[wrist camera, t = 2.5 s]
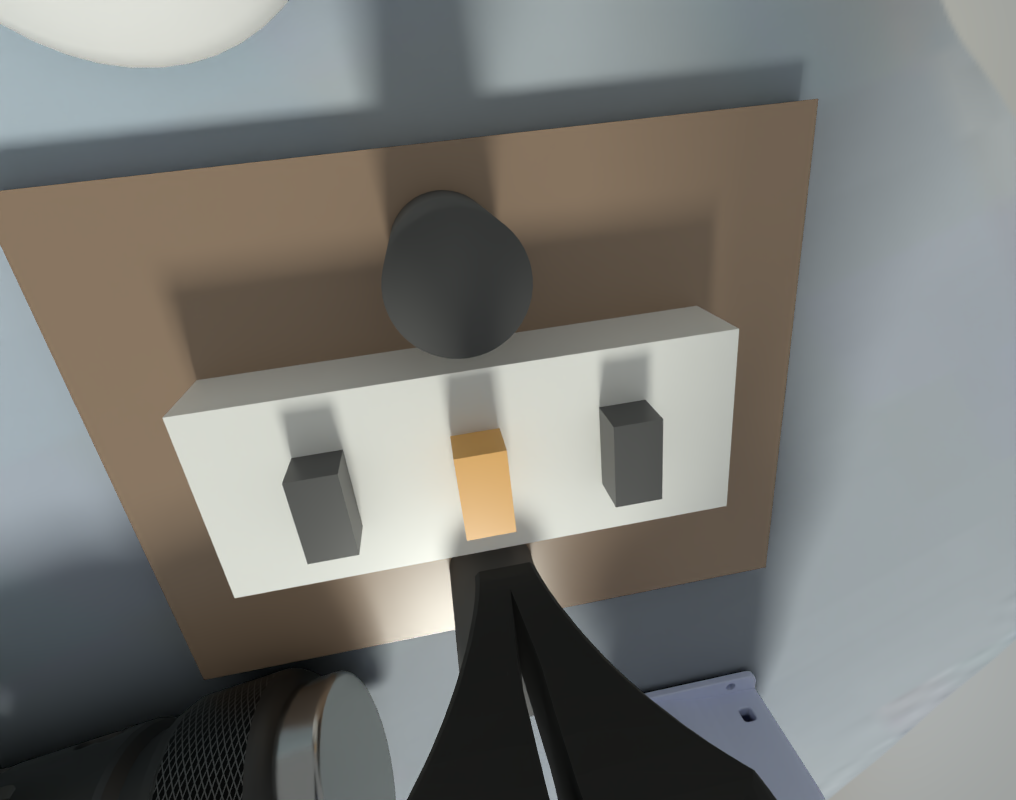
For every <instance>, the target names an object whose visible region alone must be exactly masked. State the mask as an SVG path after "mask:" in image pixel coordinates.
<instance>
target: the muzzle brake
mask: <svg viewBox="0 0 1016 800" xmlns="http://www.w3.org/2000/svg"><path fill="white" fill-rule="evenodd" d="M0 800H396V796H395V786H394V776H393V770H392V763H391V757H390V753H389V748H388V743H387V739H386V735H385V732H384V728H383V725H382V721H381V719H380V716H379V713H378V710H377V708H376V706H375V703H374V701H373V699H372V697H371V695H370V693H369V691H368V690H367V688H366V687H365V685H364V683H363V682H362V681H361V680H360V679H359V678H358V677H357V676H356V675H354V674H353V673H351V672H349V671H340V670H339V671H336V672H333V673H330V674H327V675H324V676H320V675H319V674H317V673H315V672H312V671H309V670H306V669H300V668H288V669H285V670H282V671H279V672H276V673H273V674H270V675H267V676H264V677H261V678H258V679H255V680H251V681H248V682H245V683H242V684H239V685H236V686H233V687H230V688H227V689H224V690H221V691H218V692H215V693H212V694H210V695H207V696H205V697H203V698H201V699H200V700H199V701H197V702H196V703H195V704H193V705H192V706H191V707H190V708H189V709H188V710H187V711H185V712H184V713H183V714H182V715H180V716H179V717H178V718H176V717H160V718H157V719H154V720H151V721H148V722H145V723H142V724H139V725H136V726H133V727H129V728H126V729H125V730H124V731H120V732H115V733H111V734H108V735H105V736H102V737H99V738H96V739H93V740H90V741H87V742H84V743H81V744H78V745H74V746H71V747H68V748H65V749H62V750H59V751H56V752H53V753H50V754H47V755H44V756H41V757H38V758H35V759H32V760H29V761H26V762H23V763H19V764H16V765H15V766H13V767H9V768H4V769H1V770H0Z"/></svg>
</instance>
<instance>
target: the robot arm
mask: <svg viewBox="0 0 1016 800" xmlns="http://www.w3.org/2000/svg"><path fill="white" fill-rule="evenodd" d="M521 673H522V674H521ZM522 677H523V680H524V683H525V687H526V690H527V693H528V697H529V700H530V703H531V706H532V710H533V713H534V716H535V720H536V723H537V726H538V729H539V733H540V736H541V739H542V743H543V746H544V749H545V752H546V756H547V759H548V762H549V765H550V769H551V773H552V777H553V780H554V784H555V788H556V793H557V797H558V800H825V798H824V796H823V794H822V792H821V791H820V789H819V787H818V786H817V784H816V783H815V781H814V779H813V778H812V776H811V775H810V773H809V772H808V770H807V769H806V767H805V765H804V764H803V762H802V761H801V759H800V758H799V756H798V755H797V753H796V751H795V750H794V748H793V747H792V745H791V744H790V742H789V740H788V739H787V737H786V736H785V734H784V733H783V731H782V730H781V728H780V726H779V725H778V723H777V722H776V720H775V719H774V717H773V716H772V714H771V712H770V711H769V709H768V708H767V706H766V705H765V703H764V701H763V700H762V698H761V697H760V695H759V694H758V692H757V691H756V689H755V684H756V678H755V677H754V675H753V673H752V672H750V671H744V672H739V673H734V674H730V675H725V676H721V677H716V678H712V679H707V680H703V681H698V682H694V683H689V684H684V685H680V686H675V687H671V688H666V689H662V690H657V691H653V692H648V693H643V692H642V691H641V690H640V689H638V688H637V687H636V686H635V685H634V684H633V683H631V682H630V681H629V680H628V679H627V678H626V677H625V676H624V675H623V674H622V673H621V672H620V671H619V670H617V669H616V668H615V667H614V666H613V665H612V664H611V663H610V662H609V661H608V660H607V659H606V658H605V657H604V656H603V655H602V654H601V653H600V651H599V650H598V649H597V648H596V647H595V646H594V645H593V644H592V643H591V642H590V641H589V640H588V638H587V637H586V636H585V635H584V634H583V633H582V632H581V630H580V629H579V628H578V627H577V626H576V624H575V623H574V622H573V621H572V619H571V618H570V617H569V616H568V614H567V613H566V612H565V611H564V610H563V608H562V607H561V606H560V604H559V603H558V602H557V600H556V599H555V597H554V596H553V594H552V593H551V592H550V590H549V589H548V587H547V586H546V584H545V583H544V581H543V579H542V578H541V576H540V574H539V573H538V571H537V569H536V567H535V565H534V564H532V563H530V562H527V563H522V564H517V565H511V566H506V567H501V568H496V569H491V570H485V571H480V572H478V573H477V575H476V576H475V601H474V609H473V616H472V622H471V627H470V632H469V637H468V642H467V646H466V651H465V654H464V658H463V662H462V665H461V669H460V673H459V676H458V680H457V683H456V686H455V689H454V692H453V695H452V698H451V701H450V704H449V707H448V709H447V712H446V715H445V718H444V720H443V723H442V725H441V728H440V730H439V733H438V735H437V737H436V740H435V742H434V745H433V747H432V749H431V752H430V754H429V756H428V758H427V760H426V763H425V765H424V767H423V769H422V771H421V773H420V775H419V777H418V779H417V781H416V783H415V785H414V787H413V789H412V791H411V793H410V795H409V797H408V799H407V800H549V796H548V792H547V788H546V784H545V780H544V776H543V771H542V767H541V763H540V759H539V755H538V751H537V747H536V743H535V738H534V734H533V730H532V726H531V721H530V717H529V713H528V709H527V704H526V700H525V696H524V691H523V683H522Z"/></svg>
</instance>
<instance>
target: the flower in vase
mask: <svg viewBox="0 0 1016 800" xmlns="http://www.w3.org/2000/svg"><path fill="white" fill-rule="evenodd" d="M287 2H288V0H0V24H1V25H3V26H5V27H7V28H9V29H11V30H13V31H15V32H17V33H19V34H20V35H22V36H24V37H26V38H28V39H30V40H32V41H34V42H36V43H39V44H41V45H44V46H46V47H49V48H51V49H54V50H57V51H59V52H62V53H64V54H67V55H70V56H74V57H77V58H81V59H85V60H89V61H92V62H96V63H100V64H107V65H114V66H122V67H129V68H163V67H170V66H177V65H184V64H190V63H193V62H197V61H200V60H203V59H207V58H210V57H213V56H216V55H218V54H220V53H222V52H224V51H226V50H228V49H231V48H233V47H235V46H237V45H239V44H241V43H242V42H244V41H245V40H246V39H248V38H249V37H251V36H252V35H253V34H255V33H256V32H257V31H259V30H260V29H262V28H263V27H264V26H265V25H266V24H267V23H268V22H269V21H270V20H271V19H272V18H273V17H274V16H275V15H276V14H277V13H278V12H279V11H280V10H281V9H282V8H283V7H284V6H285V4H286V3H287Z"/></svg>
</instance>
